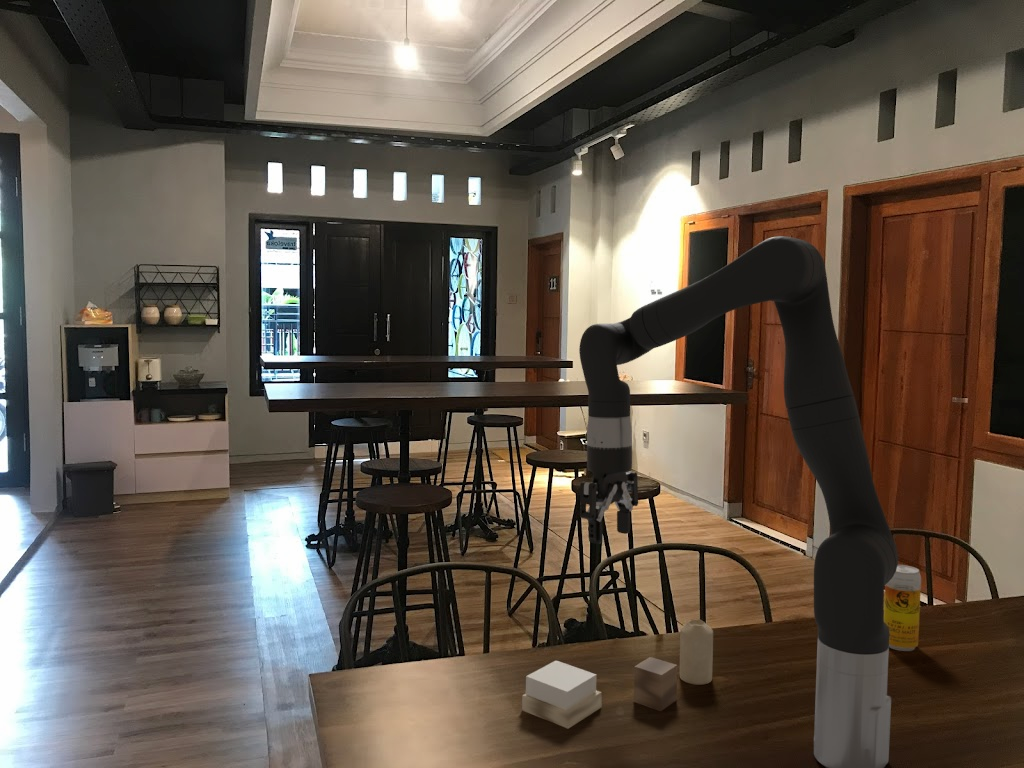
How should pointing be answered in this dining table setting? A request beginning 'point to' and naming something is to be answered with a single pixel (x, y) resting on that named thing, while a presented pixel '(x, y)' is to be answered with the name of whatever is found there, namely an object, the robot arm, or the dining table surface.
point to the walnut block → (655, 683)
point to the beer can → (903, 608)
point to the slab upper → (561, 685)
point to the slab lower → (560, 715)
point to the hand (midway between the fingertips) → (609, 537)
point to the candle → (696, 652)
